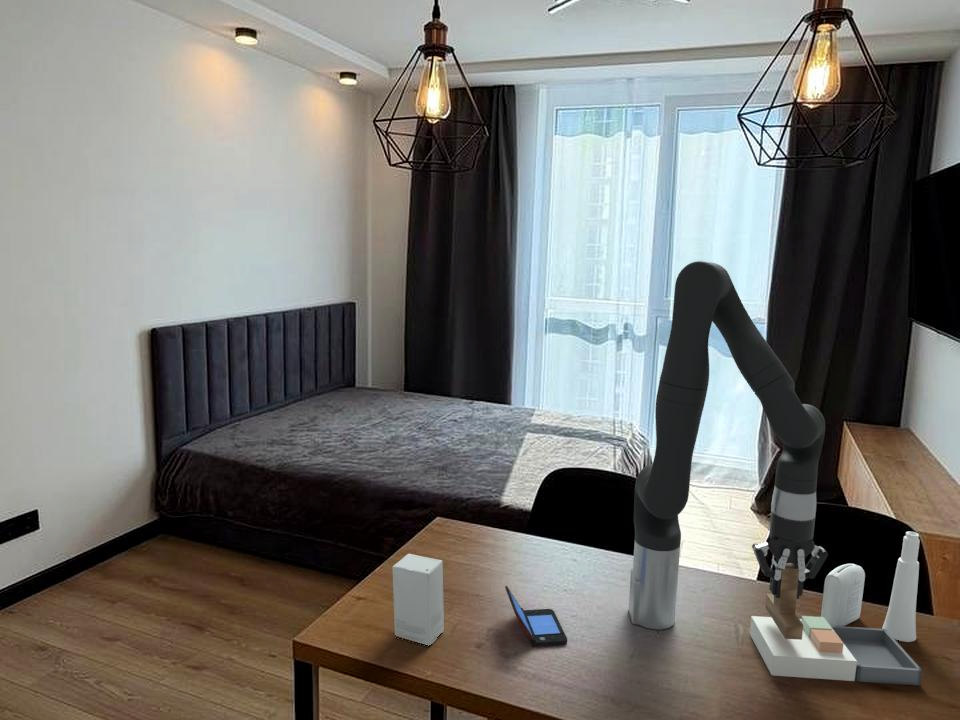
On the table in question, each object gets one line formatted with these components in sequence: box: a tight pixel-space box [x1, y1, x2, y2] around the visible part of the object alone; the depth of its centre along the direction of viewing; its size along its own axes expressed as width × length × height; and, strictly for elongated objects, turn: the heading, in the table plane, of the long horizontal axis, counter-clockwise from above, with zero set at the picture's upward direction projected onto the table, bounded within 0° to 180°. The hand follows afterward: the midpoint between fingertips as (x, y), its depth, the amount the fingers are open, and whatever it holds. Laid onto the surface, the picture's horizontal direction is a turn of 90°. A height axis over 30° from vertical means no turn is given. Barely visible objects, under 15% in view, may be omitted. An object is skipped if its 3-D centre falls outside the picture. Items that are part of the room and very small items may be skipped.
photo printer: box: [820, 563, 866, 627], centre depth 145 cm, size 10×4×12 cm, turn 123°
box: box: [831, 625, 923, 686], centre depth 131 cm, size 11×14×3 cm
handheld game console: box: [504, 585, 568, 648], centre depth 139 cm, size 12×11×7 cm
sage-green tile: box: [800, 615, 833, 637], centre depth 134 cm, size 4×4×2 cm
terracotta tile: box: [810, 629, 844, 653], centre depth 129 cm, size 4×4×2 cm
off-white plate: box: [749, 615, 857, 682], centre depth 132 cm, size 15×14×4 cm
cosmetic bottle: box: [881, 531, 921, 643], centre depth 139 cm, size 6×6×22 cm
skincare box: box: [392, 553, 445, 647], centre depth 136 cm, size 8×7×16 cm
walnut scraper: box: [765, 563, 803, 640], centre depth 131 cm, size 3×11×12 cm, turn 176°
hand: (785, 596), depth 131 cm, fingers closed on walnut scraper, 3 cm apart
